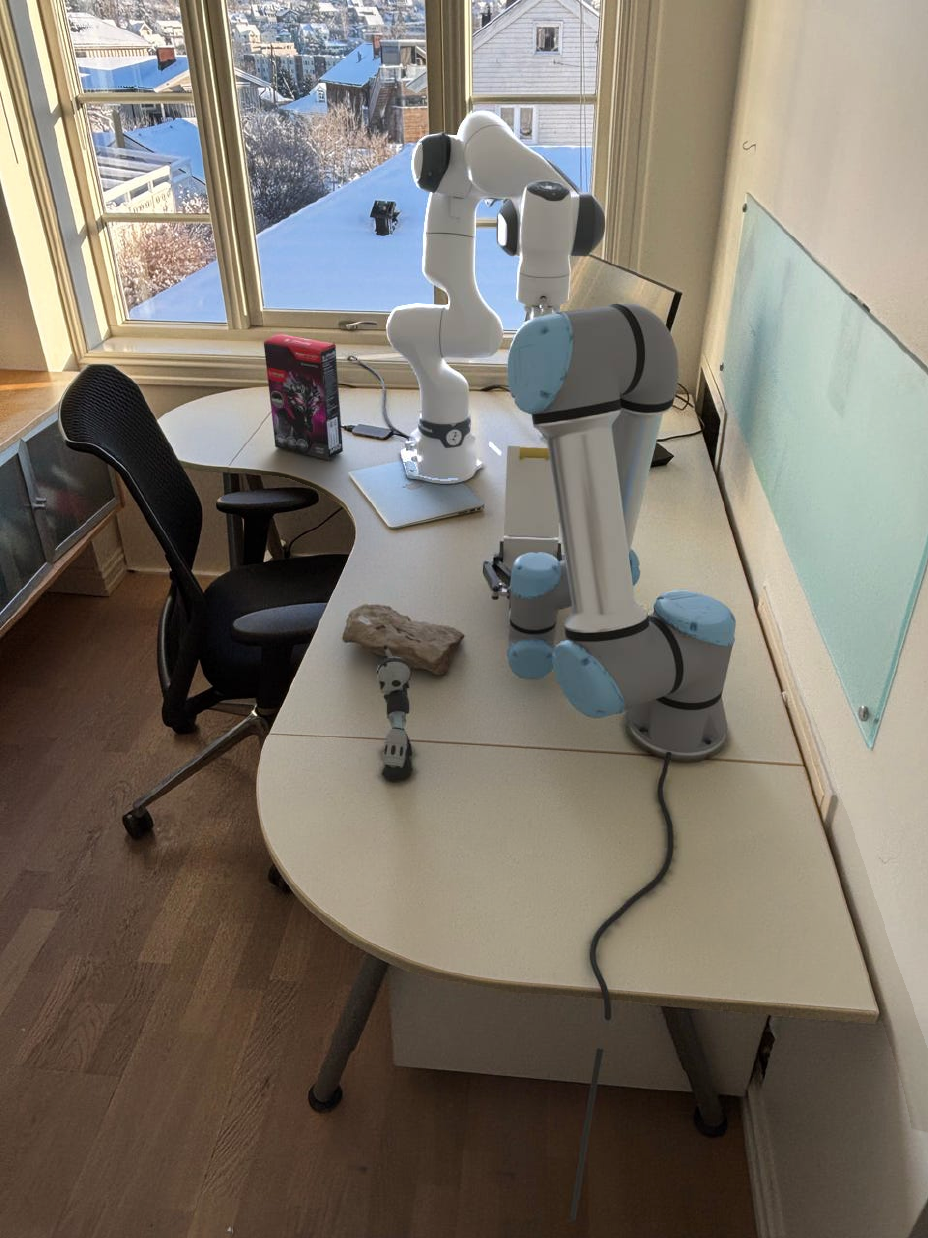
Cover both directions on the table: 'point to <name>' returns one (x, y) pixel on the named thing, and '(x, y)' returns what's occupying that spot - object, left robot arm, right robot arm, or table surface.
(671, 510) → the table surface
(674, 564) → the table surface
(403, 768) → the robot
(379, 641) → the stone
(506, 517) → the white lid with handle
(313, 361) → the graphics card box
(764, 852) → the table surface
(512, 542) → the chest
